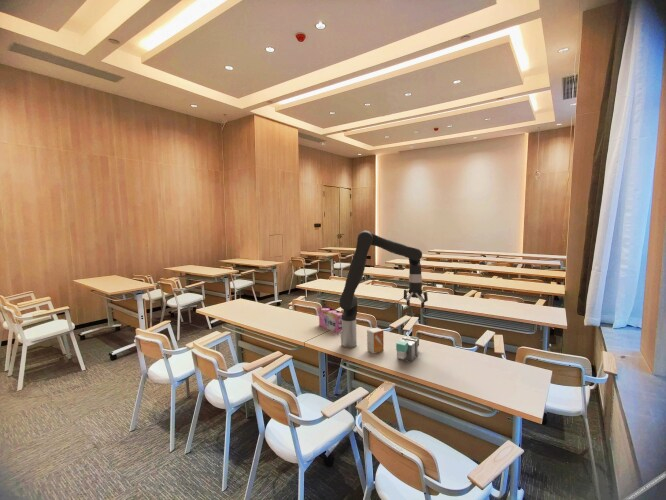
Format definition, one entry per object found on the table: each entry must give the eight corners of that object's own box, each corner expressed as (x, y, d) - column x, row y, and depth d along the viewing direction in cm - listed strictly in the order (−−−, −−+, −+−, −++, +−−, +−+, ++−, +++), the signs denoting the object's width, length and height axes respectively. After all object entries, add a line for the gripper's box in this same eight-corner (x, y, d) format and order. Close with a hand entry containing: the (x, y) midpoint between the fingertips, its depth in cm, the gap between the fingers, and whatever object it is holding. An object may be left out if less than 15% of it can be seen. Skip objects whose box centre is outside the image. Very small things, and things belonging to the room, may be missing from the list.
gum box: (345, 331, 225) (345, 313, 224) (337, 333, 220) (336, 315, 219) (327, 323, 244) (326, 306, 243) (318, 325, 239) (318, 308, 238)
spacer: (396, 350, 171) (396, 343, 170) (399, 347, 175) (399, 340, 174) (404, 352, 168) (404, 345, 168) (408, 349, 172) (408, 342, 172)
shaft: (396, 358, 171) (395, 349, 170) (411, 344, 190) (411, 336, 190) (404, 360, 168) (404, 351, 167) (419, 345, 188) (419, 337, 187)
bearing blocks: (397, 358, 177) (397, 342, 176) (403, 352, 185) (403, 336, 184) (411, 362, 172) (411, 345, 171) (417, 355, 180) (417, 339, 179)
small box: (373, 353, 184) (373, 332, 183) (367, 350, 189) (366, 329, 188) (383, 350, 188) (383, 329, 187) (377, 347, 194) (376, 327, 193)
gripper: (401, 281, 187) (402, 307, 189) (424, 283, 179) (425, 310, 180) (406, 279, 193) (406, 304, 195) (429, 281, 185) (429, 307, 187)
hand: (415, 307), depth 188 cm, fingers open, 8 cm apart
